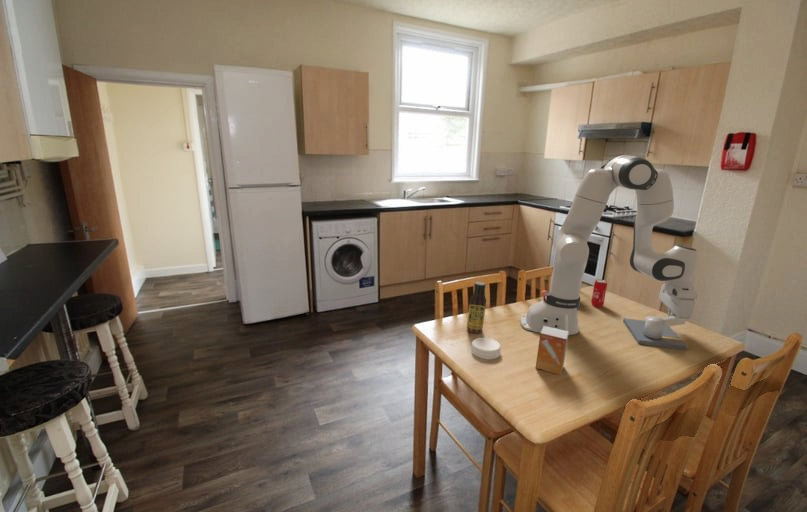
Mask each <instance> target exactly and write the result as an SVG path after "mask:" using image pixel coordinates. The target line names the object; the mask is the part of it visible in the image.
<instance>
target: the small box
mask: <svg viewBox="0 0 807 512" xmlns="http://www.w3.org/2000/svg"><path fill="white" fill-rule="evenodd" d="M569 336H570V335H569V331H564V330H560V329H556V328H551V327H546V326H543V329H542V331H541V333H540V334H539V341H538V346H537V347H538V349H537V353H536V363H535V369H538V370H543V371H545V372H549V373H553V374H556V375H559V376H561V375H562V372H563V369H564V364H565V359H566V354H567V353H566V352H567V348H568V347H567V346H568V341H569V340H568V339H569Z"/></svg>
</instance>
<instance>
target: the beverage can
mask: <svg viewBox="0 0 807 512" xmlns="http://www.w3.org/2000/svg"><path fill="white" fill-rule="evenodd" d="M607 287H608V282H607V281H606V280H605V279H595V280H594V285H593V288H592V289H593V290H592V295H591V306H593V307H597V308H602V307H603V305H605V304H604V303H605V298H606V292H607Z"/></svg>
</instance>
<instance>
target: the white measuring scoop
mask: <svg viewBox="0 0 807 512" xmlns="http://www.w3.org/2000/svg"><path fill="white" fill-rule="evenodd" d="M645 321H646V322H645V327H644V331H643V334H644V335H645V336H647V337H650V338H654V339H660V338H662V333H663V329H664V327H667V326H669V327H673V326H681V325H686V321H687V319H682V318H679V317H678V316H669V317H668V316H661V317H658V316H653V315H649V316H646V317H645Z"/></svg>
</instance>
